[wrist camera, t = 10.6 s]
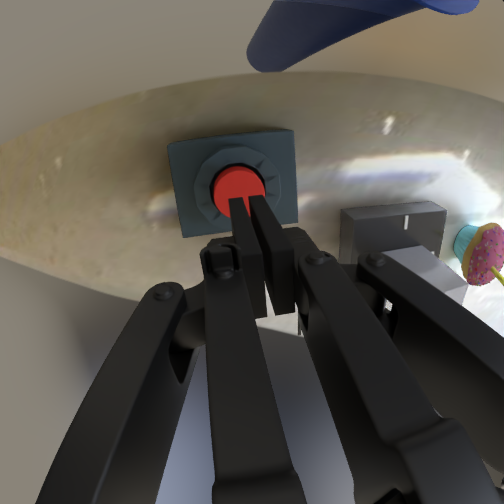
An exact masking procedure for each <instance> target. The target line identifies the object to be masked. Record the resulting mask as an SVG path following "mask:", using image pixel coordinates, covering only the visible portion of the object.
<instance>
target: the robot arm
mask: <svg viewBox="0 0 504 504" xmlns="http://www.w3.org/2000/svg"><path fill="white" fill-rule="evenodd" d="M503 1H504V0H503ZM248 200H249V210H250V217H249V214H248V211H247V208H246V206H245V203H244V200H243V197H237V198H230V199H228V202H229V210H230V218H231V226H232V234H233V236H230V237H223V238H216V239H212V240H211V241H210V242H209V243H208V244H207V247H205V248H204V249H202V250H201V252H200V259H201V264H202V269H203V274H204V280H203V281H202V282H201V283H200V284H198V285H196V286H194V287H192V288H189V289H186V290H184V289H183V287H182V285H180V284H178V283H175V282H163V283H159V284H157V285H155V286H153V287H152V288H150V289H149V290H148V291H147V292H146V293H145V295H144V297H143V298H142V300H141V301H140V303H139V305H138V306H137V308H136V309H135V311H134V312H133V314H132V316H131V317H130V319H129V321H128V322H127V324H126V326H125V327H124V329H123V331H122V332H121V334H120V336H119V337H118V339H117V341H116V343H115V344H114V346H113V347H112V349H111V351H110V353H109V354H108V356H107V358H106V359H105V361H104V363H103V365H102V367H101V368H100V370H99V372H98V374H97V376H96V377H95V379H94V381H93V383H92V385H91V387H90V388H89V390H88V392H87V394H86V396H85V398H84V400H83V401H82V403H81V405H80V407H79V409H78V411H77V413H76V415H75V417H74V419H73V421H72V423H71V425H70V427H69V429H68V431H67V433H66V435H65V437H64V439H63V441H62V443H61V446H60V448H59V450H58V452H57V454H56V456H55V459H54V461H53V463H52V465H51V467H50V469H49V472H48V474H47V476H46V479H45V481H44V484H43V486H42V488H41V491H40V493H39V496H38V498H37V501H36V503H35V504H155V502H156V498H157V495H158V491H159V487H160V483H161V480H162V477H163V473H164V469H165V466H166V462H167V459H168V455H169V451H170V448H171V444H172V441H173V438H174V434H175V431H176V427H177V424H178V421H179V417H180V414H181V410H182V407H183V403H184V400H185V397H186V394H187V390H188V387H189V383H190V380H191V377H192V373H193V370H194V367H195V364H196V361H197V357H198V354H199V346H202V345H204V344H206V363H207V381H208V398H209V412H210V426H211V438H212V450H213V460H214V470H215V482H214V484H213V486H212V504H307V502H306V498H305V495H304V491H303V488H302V485H301V481H300V479H299V476H298V474H297V473H296V471H295V470H294V467H293V465H292V461H291V458H290V454H289V450H288V446H287V443H286V439H285V435H284V431H283V427H282V424H281V420H280V416H279V413H278V408H277V404H276V401H275V397H274V393H273V389H272V385H271V381H270V377H269V373H268V369H267V365H266V361H265V358H264V354H263V349H262V345H261V342H260V338H259V334H258V329H257V325H256V321H255V319H257V318H264V317H267V307H266V294H265V284H266V287H267V290H268V293H269V297H270V300H271V303H272V306H273V310H274V313H275V316H276V315H282V314H288V313H294V312H295V303H296V305H297V307H298V335H301V330H302V332H303V335H304V338H305V340H306V343H307V346H308V349H309V352H310V354H311V357H312V360H313V363H314V365H315V368H316V371H317V374H318V377H319V380H320V382H321V385H322V388H323V391H324V394H325V397H326V400H327V403H328V406H329V408H330V411H331V414H332V417H333V420H334V423H335V426H336V429H337V432H338V435H339V438H340V441H341V444H342V446H343V449H344V452H345V455H346V458H347V461H348V465H349V468H350V471H351V473H352V477H353V480H354V499H355V504H504V478H503V479H502V483H501V487H502V489H501V488H498V487H495V485H494V483H493V481H492V479H491V477H490V475H489V473H488V471H487V469H486V467H485V465H484V463H483V461H482V459H483V460H484V461H485V462H486V463H487V464H489V465H490V466H491V467H493V468H494V469H495V470H497V471H499V472H501V473H503V474H504V338H503V337H502V336H501V335H500V334H498V333H497V332H496V331H494V330H493V329H492V328H491V327H489V326H488V325H487V324H485V323H484V322H483V321H482V320H480V319H479V318H478V317H476V316H475V315H474V314H472V313H471V312H470V311H468V310H467V309H466V308H464V307H463V306H461V305H460V304H459V303H457V302H456V301H455V300H453V299H452V298H450V297H449V296H448V295H446V294H445V293H443V292H442V291H440V290H439V289H438V288H436V287H435V286H433V285H432V284H430V283H429V282H427V281H426V280H425V279H423V278H422V277H420V276H419V275H417V274H416V273H414V272H413V271H411V270H410V269H408V268H407V267H405V266H404V265H402V264H401V263H399V262H397V261H396V260H394V259H393V258H391V257H390V256H388V255H386V254H384V253H380V252H377V251H374V252H373V251H369V252H364V253H362V254H360V255H359V256H358V258H357V264H340V263H338V261H337V260H336V259H335V257H334V256H333V255H331V254H330V253H327V252H325V251H320V250H319V249H318V248H317V246H316V245H315V244H314V242H313V241H312V239H311V238H310V237H309V235H308V234H307V233H306V231H305V230H303V229H301V228H299V227H292V228H284V229H282V227H281V225H280V223H279V222H278V220H277V218H276V217H275V215H274V213H273V212H272V210H271V208H270V207H269V205H268V203H267V202H266V200H265V198H264V197H263V195H253V196H248ZM264 280H265V282H264ZM387 300H388V301H389V302H391V303H392V304H393V305H392V309H391V311H389V310H388V309H386V308H385V306H386V301H387ZM432 406H433V407H434V408H435V409H436V410H437V411H438V412H439V414H440V415H441V416H442V417H443V418H441V417H440V416H438V414H437V413H436V412H435V411H434V409H433V407H432ZM481 458H482V459H481Z"/></svg>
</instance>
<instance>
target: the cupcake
mask: <svg viewBox="0 0 504 504" xmlns="http://www.w3.org/2000/svg"><path fill="white" fill-rule="evenodd" d="M454 252H455V255H456V256H457V258H458V259H459V261H460V263H461V268H462V271H463V276H464V277H465V279H467V283H468V284H470V285H472V286H473V285H475V286H478V285H479V286H480V285H484V284H487V283H490V281H492V280H493V279H494V278H495V277H496V278H497V279H498V280H499V281H500V282H501V283H502V285H503V286H504V278H503V277H502V275H501V274H500V273H499V272H500V271H501V270H500V269H501V268H502V267H503V264H504V230H503V229H502V228H501V227H500V225H498V224H497V223H488V224H486V225H483V226H481V227H477V226H471V225H468V226H465V227H464V228H463V229H462V230H461V231H460V232H459V233H458V235H457V237H456V240H455V243H454Z"/></svg>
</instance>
